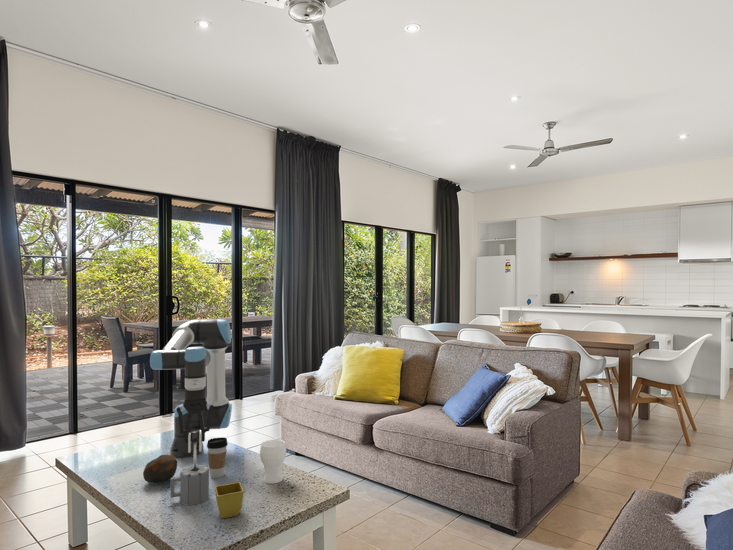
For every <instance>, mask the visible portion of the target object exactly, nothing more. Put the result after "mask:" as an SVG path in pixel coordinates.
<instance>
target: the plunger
mask: <svg viewBox="0 0 733 550" xmlns="http://www.w3.org/2000/svg"><path fill="white" fill-rule="evenodd" d="M200 432H201V431H200ZM200 432H199V431H192V432H191V441H192V442H194V456H193V465H194V471H196V465H197V455H196V441H199V433H200ZM198 476H199V475H198ZM189 477H190V476H189Z"/></svg>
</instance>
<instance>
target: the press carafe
mask: <svg viewBox="0 0 733 550" xmlns="http://www.w3.org/2000/svg"><path fill="white" fill-rule="evenodd" d="M179 473H180V474H179V476H173V477H172V478H171V479H170V498H171V499H172V498H177V497H178V498H179V504H183V505H186V506H193V505H200V504H202V503H205V502H206V501H208V500H209V499H210V470H209V465H207V464H206V465H205V464H201V465H200V464H196V471H194V464H192V465H191V466H190V465H187V466H185V467H183V468H181V469H180V472H179ZM198 475H199V476H198ZM189 476H190V477H189ZM177 482H179V485H180V486H179V491H175V483H177Z"/></svg>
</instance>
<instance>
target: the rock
mask: <svg viewBox="0 0 733 550" xmlns="http://www.w3.org/2000/svg"><path fill="white" fill-rule="evenodd" d="M177 468H178V459H177V457H175V456H172V455H170V454H161V455H159V456H158V457H156V458H154V459H152V460H151V461H149V462H148V463H147V464H146V465H145V467H144V469H143V472H142V474H143V475H142V476H143V479H144V481H145V482H147V483H149V484H163V483H167V482H169V481H171V478H172V477H175V474H176V471H177Z"/></svg>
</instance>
